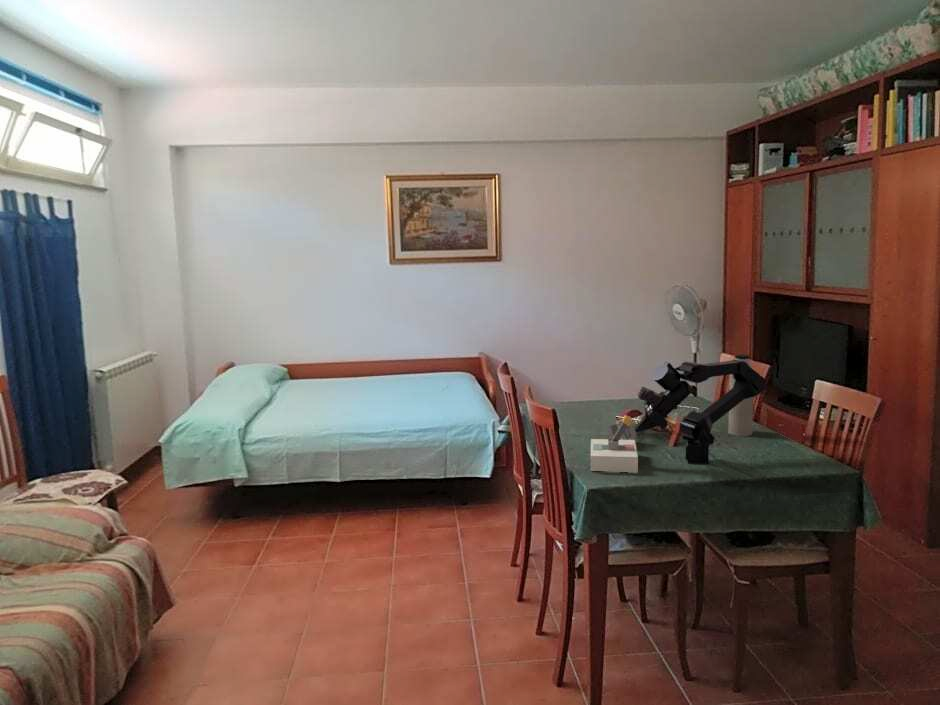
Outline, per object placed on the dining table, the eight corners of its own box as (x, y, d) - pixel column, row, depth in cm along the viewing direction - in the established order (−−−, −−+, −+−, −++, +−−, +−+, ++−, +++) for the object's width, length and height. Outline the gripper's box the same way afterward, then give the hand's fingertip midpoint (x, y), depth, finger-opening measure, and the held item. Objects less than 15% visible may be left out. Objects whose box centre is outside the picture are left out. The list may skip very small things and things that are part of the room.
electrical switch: (625, 449, 239) (622, 422, 238) (611, 448, 242) (609, 421, 241) (637, 442, 246) (635, 416, 245) (624, 441, 249) (621, 415, 248)
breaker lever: (615, 446, 226) (632, 418, 223) (615, 449, 223) (632, 421, 220) (608, 442, 226) (625, 414, 224) (608, 445, 223) (625, 417, 220)
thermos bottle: (751, 430, 256) (754, 353, 251) (752, 436, 248) (755, 357, 244) (728, 429, 258) (730, 353, 254) (728, 435, 251) (730, 356, 246)
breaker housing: (634, 454, 233) (634, 432, 231) (637, 472, 215) (637, 448, 214) (591, 453, 235) (590, 431, 234) (590, 471, 218) (590, 447, 216)
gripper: (651, 372, 228) (616, 406, 231) (656, 385, 209) (618, 421, 213) (676, 397, 228) (640, 430, 231) (684, 411, 209) (645, 447, 213)
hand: (635, 431), depth 222 cm, fingers closed
